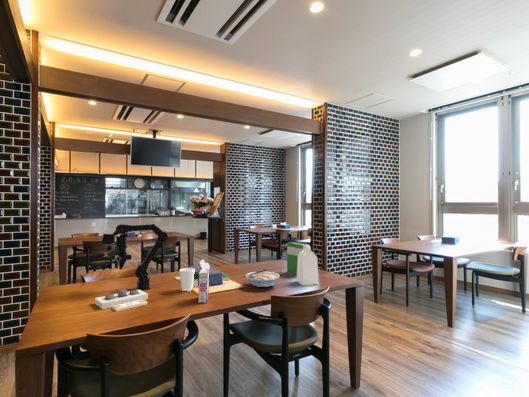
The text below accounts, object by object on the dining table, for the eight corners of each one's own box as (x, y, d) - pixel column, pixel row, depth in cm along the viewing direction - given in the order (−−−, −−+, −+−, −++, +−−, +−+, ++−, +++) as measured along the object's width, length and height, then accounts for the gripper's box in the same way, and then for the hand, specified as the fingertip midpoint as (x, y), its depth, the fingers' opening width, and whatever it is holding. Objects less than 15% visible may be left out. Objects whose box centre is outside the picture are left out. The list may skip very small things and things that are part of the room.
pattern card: (142, 301, 168) (142, 298, 168) (147, 304, 164) (147, 301, 164) (111, 308, 157) (112, 305, 157) (116, 311, 153) (116, 308, 153)
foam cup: (197, 289, 193) (197, 268, 193) (189, 293, 184) (189, 271, 185) (184, 287, 196) (184, 267, 196) (176, 291, 188) (176, 270, 188)
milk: (318, 284, 207) (318, 246, 207) (302, 285, 204) (303, 246, 204) (311, 280, 219) (311, 244, 219) (296, 281, 216) (296, 244, 216)
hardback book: (309, 275, 232) (309, 244, 233) (301, 277, 228) (302, 244, 228) (294, 271, 247) (294, 241, 247) (287, 272, 243) (287, 242, 243)
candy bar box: (207, 303, 167) (207, 273, 167) (198, 303, 166) (198, 273, 167) (209, 296, 178) (209, 268, 178) (200, 297, 177) (200, 268, 178)
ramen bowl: (264, 294, 184) (265, 280, 184) (236, 287, 198) (237, 274, 198) (287, 285, 204) (287, 273, 204) (260, 279, 218) (260, 268, 218)
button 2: (136, 295, 176) (136, 289, 176) (139, 297, 173) (139, 291, 173) (128, 297, 173) (128, 291, 173) (131, 299, 170) (131, 292, 170)
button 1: (112, 300, 167) (112, 294, 167) (115, 302, 164) (115, 296, 164) (103, 302, 164) (103, 295, 164) (106, 304, 161) (106, 297, 161)
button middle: (124, 295, 171) (124, 288, 171) (127, 296, 168) (127, 290, 168) (116, 296, 168) (116, 290, 168) (119, 298, 165) (119, 292, 165)
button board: (139, 294, 181) (139, 289, 181) (148, 299, 173) (148, 293, 173) (94, 303, 164) (94, 298, 164) (102, 309, 156) (102, 303, 156)
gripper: (101, 244, 190) (101, 269, 190) (112, 247, 177) (112, 274, 177) (120, 242, 198) (120, 266, 198) (132, 245, 185) (131, 271, 185)
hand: (120, 269), depth 189 cm, fingers closed
